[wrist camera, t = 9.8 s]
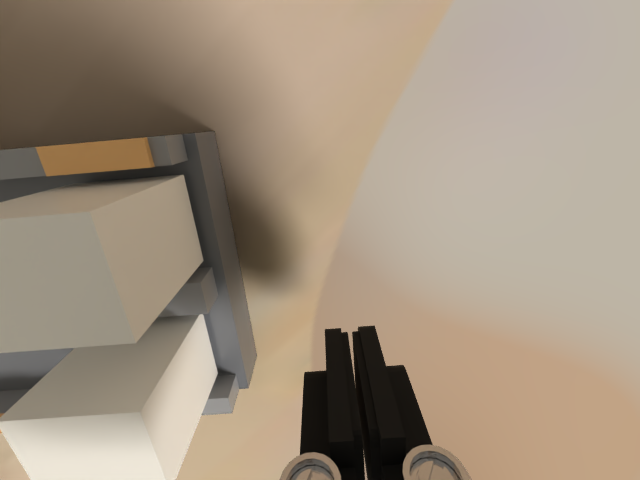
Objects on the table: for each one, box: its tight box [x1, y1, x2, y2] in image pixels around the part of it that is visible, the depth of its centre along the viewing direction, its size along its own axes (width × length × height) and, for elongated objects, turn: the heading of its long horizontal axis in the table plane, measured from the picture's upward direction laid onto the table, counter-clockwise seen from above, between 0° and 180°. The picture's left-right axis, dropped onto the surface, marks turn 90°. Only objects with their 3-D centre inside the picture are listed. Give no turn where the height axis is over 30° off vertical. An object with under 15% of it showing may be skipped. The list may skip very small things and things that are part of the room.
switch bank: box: [0, 131, 257, 433], centre depth 12 cm, size 10×12×3 cm
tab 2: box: [0, 314, 218, 480], centre depth 10 cm, size 3×4×4 cm
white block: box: [0, 175, 204, 353], centre depth 8 cm, size 3×4×4 cm
